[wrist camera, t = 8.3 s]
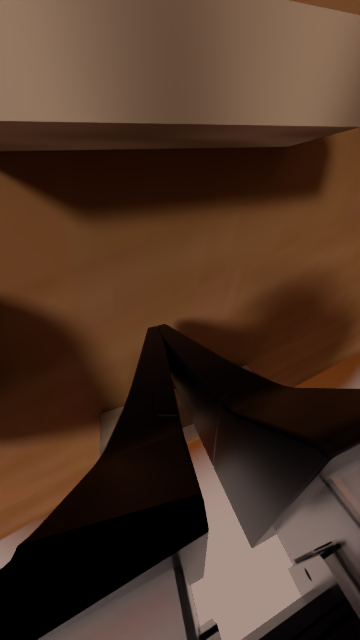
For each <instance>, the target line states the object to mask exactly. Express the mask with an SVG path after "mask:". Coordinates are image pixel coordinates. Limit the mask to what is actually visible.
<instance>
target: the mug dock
mask: <svg viewBox="0 0 360 640" xmlns="http://www.w3.org/2000/svg"><path fill="white" fill-rule="evenodd" d="M358 127H360V15H356V14H351V13H346V12H341V11H337V10H332V9H327V8H322V7H318V6H313V5H308V4H303V3H299V2H294V1H289V0H0V151H48V150H113V149H178V148H242V147H289V146H293V145H296V144H300V143H304V142H307V141H311V140H314V139H318V138H322V137H325V136H329V135H332V134H336V133H340V132H343V131H347V130H351V129H354V128H358ZM242 368H245V369H247V370H249V371H251V372H252V370H251V369H250V368H249V367H248V366H247V365H245V366H242ZM174 391H175V396H176V401H177V405H178V410H179V415H180V420H181V424H182V429H183V433H184V437H185V440H186V442H187V441H190V440H192V439H195V438H197V437H199V435H198V433H197V431H196V429H195V426H194V424H193V422H192V420H191V418H190V416H189V414H188V412H187V409H186V407H185V405H184V403H183V401H182V399H181V397H180V395H179V392H178V390H177V388H176V389H174ZM123 407H124V406H121V407H118V408H115V409H112V410H109V411H106V412H103V413H100V457H101V455H102V453H103V451H104V450H105V448H106V445H107V443H108V441H109V439H110V437H111V434H112V432H113V430H114V428H115V425H116V423H117V421H118V419H119V416H120V414H121V412H122V410H123Z"/></svg>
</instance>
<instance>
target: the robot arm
mask: <svg viewBox="0 0 360 640" xmlns="http://www.w3.org/2000/svg"><path fill="white" fill-rule="evenodd" d="M172 380H173V382H174V384H175V386H176V388H177V390H178V392H179V395H180V397H181V399H182V401H183V403H184V405H185V407H186V409H187V412H188V414H189V416H190V418H191V420H192V422H193V424H194V426H195V429H196V431H197V433H198V435H199V437H200V439H201V441H202V443H203V446H204V448H205V450H206V452H207V454H208V456H209V458H210V461H211V463H212V465H213V466H214V469H215V471H216V473H217V475H218V478H219V480H220V482H221V484H222V486H223V488H224V490H225V493H226V495H227V497H228V499H229V501H230V503H231V505H232V508H233V510H234V512H235V514H236V516H237V518H238V520H239V522H240V525H241V526H242V529H243V530H244V533H245V535H246V537H247V539H248V541H249V544H250V545H251V547H252V548H254V547H255V546H257V545H259V544H260V543H262V542H264V541H266V540H267V539H269V538H270V537H272V536H274V535H276V534H277V535H278V537H279V539H280V541H281V543H282V545H283V547H284V549H285V551H286V553H287V555H288V557H289V558H290V560H291V562H292V564H293V566H292V567H290V568H289V571H290V574H291V576H292V578H293V580H294V582H295V584H296V586H297V588H298V590H299V592H300V594H301V596H302V597H301V598H299V599H298V600H296V601H295V602H294V603H292V604H291V605H289V606H288V607H287V608H285V609H284V610H282V611H281V612H280V613H278V614H277V615H275V616H274V617H273V618H271V619H270V620H268V621H267V622H266V623H264V624H263V625H261V626H260V627H259V628H257V629H256V630H254V631H253V632H251V633H250V634H249V635H247V636H246V637H244V638H243V639H242V640H360V389H329V388H327V389H326V388H293V387H287V386H283V385H280V384H278V383H275V382H273V381H271V380H268V379H266V378H264V377H262V376H260V375H258V374H255V373H253V372H251V371H249V370H247V369H245V368H242V367H240V366H238V365H236V364H234V363H232V362H230V361H229V360H227V359H225V358H223V357H221V356H220V355H218V354H215V353H214V352H213V351H211V350H209V349H207V348H206V347H204V346H202V345H201V344H199V343H197V342H195V341H194V340H192V339H190V338H189V337H187V336H185V335H183V334H182V333H180V332H178V331H177V330H175V329H173V328H171V327H170V326H168V325H166V324H162V325H158V326H157V327H156V326H154V327H150V328H148V330H147V333H146V337H145V340H144V344H143V347H142V351H141V355H140V358H139V362H138V365H137V369H136V372H135V376H134V379H133V382H132V386H131V389H130V392H129V395H128V398H127V400H126V402H125V405H124V407H123V410H122V412H121V414H120V416H119V419H118V421H117V423H116V425H115V428H114V430H113V432H112V434H111V437H110V439H109V441H108V443H107V445H106V448H105V450H104V451H103V453H102V455H101V457H100V458H99V460H98V461H97V463H96V464H95V465H94V466H93V468H92V469H91V470H90V471H89V472H88V473H87V474H86V475H85V476H84V478H83V479H82V480H81V481H80V482H79V483H78V484H77V485H76V486H75V487H74V489H73V490H72V491H71V492H70V493H69V494H68V495H67V496H66V497H65V498H64V499H63V501H62V502H61V503H60V504H59V505H58V506H57V507H56V508H55V509H54V510H53V512H52V513H51V514H50V515H49V516H48V517H47V518H46V519H45V520H44V522H43V523H42V524H41V525H40V526H39V527H38V528H37V529H36V530H35V531H34V532H33V533H32V534H31V535H30V536H29V537H28V538H27V539H25V540H24V541H23V542H22V543H21V544H19V545H18V546H17V548H16V551H15V553H14V555H13V557H12V559H11V560H10V562H8V563H7V564H6V565H5V566H4V567H3V568H2V569H0V640H221V637H220V634H219V630H218V626H217V623H216V622H214V621H213V620H212V619H211V620H209V621H208V622H206V623H205V624H204V625H202V626H200V624H199V620H198V615H197V611H196V607H195V602H194V598H193V594H192V589H191V584H193V583H195V582H196V581H198V580H200V579H201V578H203V574H204V566H205V557H206V548H207V539H208V529H209V528H208V522H207V517H206V511H205V505H204V500H203V497H202V494H201V490H200V487H199V483H198V480H197V477H196V473H195V470H194V467H193V463H192V460H191V457H190V453H189V450H188V447H187V443H186V440H185V437H184V433H183V429H182V424H181V420H180V415H179V410H178V405H177V401H176V396H175V391H174V386H173V382H172Z"/></svg>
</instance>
